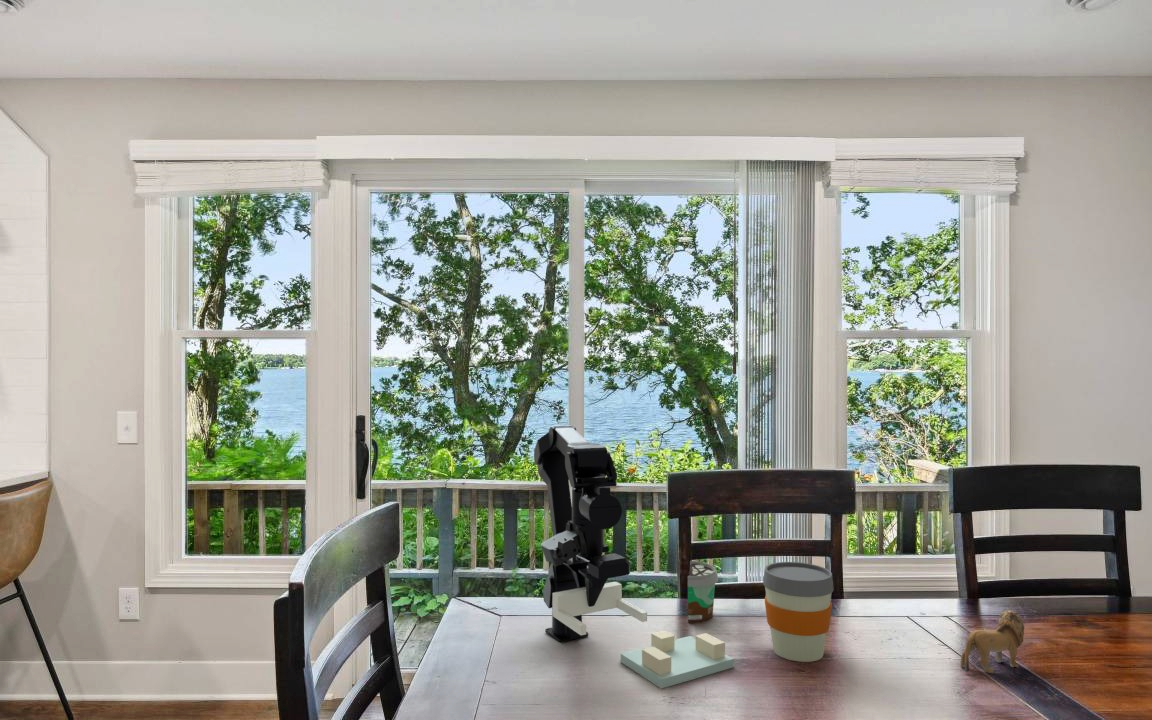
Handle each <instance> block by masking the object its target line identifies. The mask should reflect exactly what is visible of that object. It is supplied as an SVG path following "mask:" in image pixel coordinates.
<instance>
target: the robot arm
mask: <svg viewBox="0 0 1152 720" xmlns="http://www.w3.org/2000/svg"><path fill="white" fill-rule="evenodd" d="M533 450H534V452H533V459H534V464H535V465H537V472H538V476H539V477H540V478H541V479H542V481H543V482H544V483H545V484H546V487H547V495H548V496H547V497H548V504H549V506H548V507H549V514H550V524H551V525H550V526H551V534H552V537H550V538H548V539H546V540H544V541H542V542H541V543H540V546H541V550H542V553H543V556H544V558H545V561H546V562H547V563H550V566H549V568H548V569H547V572H548V575H547V577H546V580H545V583H544V586H543V589H542V592H543V593H542V595H543V596H542V597H543V602H544V603H545V606H547V608H548V609H552V599H553V593H555V592H560V591H566V590H571V589H577V588H583V587H586V594H587V602H588V606H589V607H592V606H594V605H595V603H596V601H597V599H598V597H599V595H600V593H601V591H602V589H603V587H604V585H605V583H607V581H608V579H611V578H618V577H623V576H629V575H630V574H631V562H630V560H628V559H627V558H626V557H624V556H622V555H620V554H618V553H615V552H614V553H610V545H607V544H606V543H605V530H609V529H611V528H613V527H615V526H616V525H617V524H618V523H619V521H620V520H621V517H622V513H623V507H622V506H621V502H620V500H618V498H617V497H615V496H614V495H612V494H611V488H612V487H617V486H618V485H617V479H618V473H617V470H616V466H615V463H614V461H613V457H612V455H611V453H610V451H608V448H607V447H606V446H605V445H604V444H601V443H598V442H588V441H587V440H586V439H585V438H584V437H583V435H581V434H580V433H579V431H577V427H576V426H574V425H571V424H560V425H559V424H558V425H553V426H550V427H549V429H548V432H547V433H545V434H544V435H542V436H541V437H539V438H538V439H537V441H536V444H535V446H534V449H533ZM570 488H571V489H570ZM603 553H604V554H603ZM605 553H606V554H605ZM607 553H608V554H607ZM573 617H575V618H576V619H578V620H579V621H581V622H582V623H583V615H578V616H573ZM545 632H546V633H547V635H549V636H551V637H552V638H553V639H555V640H557V641H558V642H560V643H563V642H567V641H572V640H575V639H580V638H585V637H588V636H589V632H588V631H586V634H585V635H579V634H578V633H577V632H575V631H574V630H572V629H571V628H569V627H568V626H566V625H565V624H563V623H562V622H561V621H559V620H558V619H556V618H555V617H553V616H552V615H551V627H547V628H545Z"/></svg>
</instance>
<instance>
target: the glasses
mask: <svg viewBox="0 0 1152 720" xmlns="http://www.w3.org/2000/svg"><path fill="white" fill-rule="evenodd" d="M622 585H623V584H621V583H620V582H618V581H610V582H606V583H605V585H604V587H603V589H602V591H601V593H600V595H599V597H598V599H597V601H596V603H595V605H594V606H592V607H589V606H588V602H587V594H586V587H583V588H577V589H571V590H566V591H560V592H555V593H553V599H552V608H551V617H552V616H553V617H555V618H556V619H558V620H559V621H561V622H562V623H563V624H565V625H566V626H568V627H569V628H571V629H572V630H574V631H575V632H577V633H578V634H579V635H585V634H586V632H587V624H586V623H584V622H583V621H582V622H581V621H579V620H578V619H576V618H575V617H573V616H578V615H582V616H583V615H587V614H588V615H589V614H593V613H597V612H602V611H607V610H613V609H619V610H620V611H622V612H624V613H625V614H627V615H629V616H631V617H632V618H634V619H636V620H637V621H639V622H641V623H644V622H648V611H645V610H644V609H642V608H640V607H638V606H636V605H635V604H632V603H630V602H629V601H627V600H625V599H623V598H622V597H623V596H622V595H623V594H622V593H623V592H622V591H623V590H622V589H623V588H622V587H623V586H622Z"/></svg>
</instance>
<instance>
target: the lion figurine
mask: <svg viewBox="0 0 1152 720" xmlns="http://www.w3.org/2000/svg"><path fill="white" fill-rule="evenodd" d="M1024 622H1025V621H1024V620H1023V618H1022V617H1021V616H1020V614H1019V613H1018V612H1016V611H1014V610H1005V611H1002V612H1000V613H999V618H998V623H997V624H998V625H997V628H996V629H994V630H988V631H987V630H983V629H975V630H973V631H971V632H970V633H969V634H968V636H967V641H966V646H965V649H964V651H963V653H961V655H960V668H964V669H963V670H964V672H969V670H970V665H969V664H970V663H969V660H970V659H969V658H970V657H969V656H970V655H971V654H972V653H974V651H975V650H976V649H977V651H978V653H979V656H980V665H981V666H982V668H983V669H984V671H985V672H986V673H988V674H994V673H995V671H994V669H993V668H992V667H990V666H989V665H988V661H989V656H990V653H991V652H992V653H995V657H994V661H995V663H1001V662H1002V663H1003V662H1004V660H1003V654H1002V652H1004V651H1005V652H1006V651H1008V653H1009V665H1010V668H1011V667H1012V668H1014V667H1018V668H1019V665H1018V664H1017V663H1016V661H1017V656H1018V649H1017V648H1019V647H1021V646H1022V645H1023V642H1024V636H1025V624H1024ZM1002 663H1001V664H1002Z"/></svg>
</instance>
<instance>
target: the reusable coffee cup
mask: <svg viewBox="0 0 1152 720" xmlns="http://www.w3.org/2000/svg"><path fill="white" fill-rule="evenodd" d="M762 579H763V580H762V584H763V586H764V588H765V597H764V605H765V606H764V607H765V614H766V622H767V624H768V626H769V629H770V637H771V645H772V650H773V652H774V653H775V654H776V655H777V656H779V657H781V658H783V659H785V660H789V661H794V662H800V663H801V662H803V663H810V662H816V661H819V660H822V659H823V656H824V651H825V645H826V638H827V637H826V636H827V632H828V631H829V630H830V626H831V619H832V611H833V610H832V609H833V603H832V602H831V600H832V593H834V581H833V573H832V572H831V571H830V570H829V569H828V568H826V567H823V566H820V565H817V564H814V563H813V564H811V563H807V562H806V563H805V562H800V561H799V562H797V561H781V562H779V561H778V562H773V563H769V564H767V565H766V566H765V567H764V571H763V578H762Z"/></svg>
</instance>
